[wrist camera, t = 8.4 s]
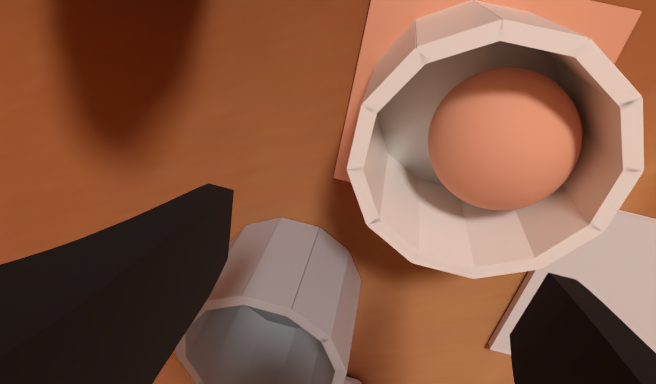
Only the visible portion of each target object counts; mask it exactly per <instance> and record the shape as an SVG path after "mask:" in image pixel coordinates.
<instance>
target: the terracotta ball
mask: <svg viewBox="0 0 656 384" xmlns="http://www.w3.org/2000/svg"><path fill="white" fill-rule="evenodd" d="M581 147H582V125H581V120H580V116H579V113H578V111H577V108H576V106H575V104H574V102H573V101H572V99H571V98H570V96H569V95H568V94H567V92H566V91H565V90H564V89H563V88H562V87H561V86H559V85H558V84H557V83H556V82H555V81H553V80H552V79H550V78H548V77H546V76H545V75H543V74H541V73H538V72H535V71H532V70H529V69H524V68H517V67H501V68H493V69H489V70H485V71H482V72H479V73H477V74H474V75H472V76H470V77H468V78H467V79H465V80H463V81H462V82H460V83H459V84H458V85H456V86H455V87H454V88H453V89H452V90H451V91H450V92H449V93H448V94H447V95H446V96H445V97H444V99H443V100H442V101H441V102H440V104H439V106H438V107H437V109H436V111H435V113H434V115H433V118H432V121H431V123H430V128H429V134H428V151H429V156H430V161H431V164H432V166H433V169H434V171H435V173H436V175H437V176H438V178H439V179H440V181H441V182H442V183H443V185H444V186H445V187H446V188H447V189H448V190H449V191H450V192H451V193H453V194H454V195H455V196H456V197H458V198H459V199H461V200H463V201H465V202H466V203H469V204H471V205H474V206H477V207H479V208H484V209H489V210H513V209H519V208H523V207H527V206H530V205H532V204H535V203H537V202H539V201H541V200H543V199H545V198H546V197H548V196H549V195H551V194H552V193H553V192H555V191H556V190H557V189H558V188H559V187H560V186H561V185H562V184H563V183H564V182H565V181H566V180H567V178H568V177H569V175H570V174H571V173H572V171H573V169H574V167H575V165H576V163H577V160H578V158H579V155H580V151H581Z"/></svg>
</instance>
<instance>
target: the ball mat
mask: <svg viewBox="0 0 656 384" xmlns="http://www.w3.org/2000/svg"><path fill="white" fill-rule="evenodd" d="M602 232H603V231H602ZM548 272H549V273H553V274H556V275H560V276H564V277H568V278H572V279H576V280H577V281H579V282H580V283H581V284H582V285H584V286H585V287H586V288H587V289H588V290H589V291H591V292H592V293H593V294H594V295H595V296H596V297H597V298H598V299H599V300H601V301H602V302H603V303H604V304H605V305H606V306H607V307H608V308H609V309H610V310H611V311H612V312H613V313H614V314H615V315H616V316H618V317H619V318H620V319H621V320H622V321H623V322H624V323H625V324H626V325H627V326H628V327H629V328H630V329H631V330H632V331H633V332H634V333H635V334H636V335H637V336H638V337H639V338H640V339H641V340H643V341H644V342H645V343H646V344H647V345H648V346H649V347H650V348H651V349H652V350H653V351H654V352H655V353H656V219H655V218H651V217H647V216H642V215H638V214H634V213H630V212H626V211H622V210H618V211H617V213H616V214H615V216H614V217H613V219H612V220H611V222H610V223H609V225H608V227H607V228H606V230H605V231H604V232H603V233H602V234H600V235H598V236H597V237H595V238H593V239H592V240H590V241H588V242H586V243H585V244H583V245H581V246H580V247H578V248H576V249H575V250H573V251H571V252H569V253H568V254H566V255H564V256H563V257H561V258H559V259H558V260H556V261H554V262H553V263H551V264H549V265H547V266H546V267H544V268H542V269H541V268H540V269H539V270H532V271H529V272H528V274H527V276H526V277H525V279H524V281H523V283H522V284H521V286H520V288H519V290H518V291H517V293H516V295H515V297H514V298H513V300H512V302H511V304H510V305H509V307H508V309H507V311H506V312H505V314H504V316H503V318H502V319H501V321H500V323H499V325H498V326H497V328H496V330H495V332H494V333H493V335H492V337H491V339H490V340H489V342H488V344H489V349H490V350H493V351H497V352H501V353H505V354H508V355H511V347H510V333H511V332H512V330H513V329H514V327H515V325H516V324H517V322H518V321H519V319H520V317H521V316H522V314H523V312H524V311H525V309H526V308H527V306H528V304H529V303H530V301H531V299H532V298H533V296H534V295H535V293H536V291H537V290H538V288H539V287H540V285H541V283H542V282H543V280H544V278H545V277H546V275H547V274H548Z"/></svg>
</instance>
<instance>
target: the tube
mask: <svg viewBox="0 0 656 384" xmlns="http://www.w3.org/2000/svg"><path fill="white" fill-rule="evenodd" d="M641 13H642V11H639V10H634V9H629V8H624V7H619V6H615V5H610V4H605V3H600V2H595V1H591V0H371V3H370V7H369V12H368V17H367V22H366V26H365V31H364V36H363V40H362V45H361V50H360V55H359V59H358V64H357V69H356V73H355V78H354V83H353V88H352V92H351V97H350V102H349V106H348V111H347V116H346V121H345V125H344V130H343V135H342V139H341V144H340V149H339V154H338V158H337V163H336V168H335V172H334V177H333V178H335V179H339V180H343V181H347V182H351V184H352V186H353V189H354V192H355V195H356V198H357V200H358V203H359V206H360V209H361V211H362V214H363V217H364V220H365V223H366V225H367V226H368V227H369V228H370V229H372V230H373V231H374V232H375V233H376V234H378V235H379V236H380V237H381V238H382V239H383V240H385V241H386V242H387V243H388V244H389V245H391V246H392V247H393V248H394V249H395V250H397V251H398V252H399V253H400V254H401V255H403V256H404V257H405V258H406V259H407V260H409V261H410V262H411V263H413V264H417V265H421V266H425V267H429V268H432V269H436V270H440V271H444V272H448V273H452V274H456V275H460V276H464V277H468V278H472V279H473V277H474V279H476V278H483V277H490V276H497V275H504V274H511V273H518V272H525V271H532V270H539V269H540V268H541V269H542V268H544V267H546V266H547V265H549V264H551V263H553V262H554V261H556V260H558V259H559V258H561V257H563V256H564V255H566V254H568V253H569V252H571V251H573V250H575V249H576V248H578V247H580V246H581V245H583V244H585V243H586V242H588V241H590V240H592V239H593V238H595V237H597V236H598V235H600V234H602V233H603V232H604V231H605V230H606V228H607V227H608V225H609V223H610V222H611V220H612V219H613V217H614V216H615V214H616V213H617V211H618V210H619V208H620V207H621V205H622V204H623V202H624V201H625V199H626V197H627V196H628V194H629V193H630V191H631V190H632V188H633V187H634V185H635V184H636V182H637V181H638V179H639V178H640V176H641V174H642V173H643V170H644V141H643V98H642V96H641V95H640V93H639V92H638V91H637V90H636V89H635V88H634V87H633V86H632V84H631V83H630V82H629V81H628V80H627V79H626V78H625V77H624V75H623V74H622V73H621V72H620V71H619V70H618V69H617V67H616V66H615V65H614V64H615V62H616V60H617V58H618V56H619V54H620V52H621V50H622V49H623V47H624V45H625V43H626V41H627V39H628V37H629V35H630V33H631V32H632V30H633V28H634V26H635V24H636V22H637V20H638V18H639V16H640V15H641ZM501 67H517V68H524V69H529V70H532V71H535V72H538V73H541V74H543V75H545V76H546V77H548V78H550V79H552V80H553V81H555V82H556V83H557V84H558V85H559V86H561V87H562V88H563V89H564V90H565V91H566V92H567V94H568V95H569V96H570V98H571V99H572V101H573V102H574V104H575V106H576V108H577V111H578V113H579V116H580V120H581V125H582V147H581V151H580V155H579V158H578V160H577V163H576V165H575V167H574V169H573V171H572V173H571V174H570V175H569V177H568V178H567V180H566V181H565V182H564V183H563V184H562V185H561V186H560V187H559V188H558V189H557V190H556V191H555V192H553V193H552V194H551V195H549V196H548V197H546V198H545V199H543V200H541V201H539V202H537V203H535V204H532V205H530V206H527V207H523V208H519V209H513V210H489V209H484V208H479V207H477V206H474V205H471V204H469V203H466V202H465V201H463V200H461V199H459V198H458V197H456V196H455V195H454V194H453V193H451V192H450V191H449V190H448V189H447V188H446V187H445V186H444V185H443V183H442V182H441V181H440V179H439V178H438V176H437V175H436V173H435V171H434V169H433V166H432V164H431V161H430V156H429V151H428V134H429V128H430V123H431V121H432V118H433V115H434V113H435V111H436V109H437V107H438V106H439V104H440V102H441V101H442V100H443V99H444V97H445V96H446V95H447V94H448V93H449V92H450V91H451V90H452V89H453V88H454V87H455V86H456V85H458V84H459V83H460V82H462V81H463V80H465V79H467V78H468V77H470V76H472V75H474V74H477V73H479V72H482V71H485V70H489V69H493V68H501ZM602 231H603V232H602Z"/></svg>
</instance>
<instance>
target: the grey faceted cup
mask: <svg viewBox="0 0 656 384" xmlns="http://www.w3.org/2000/svg"><path fill="white" fill-rule="evenodd" d="M360 287H361V279H360V276H359V274H358V271H357V269H356V266H355V264H354V261H353V259H352V256H351V253H350V252H349V250H347V249H346V248H345V247H344V246H343V245H341V244H340V243H339V242H338V241H336V240H335V239H334V238H333V237H331V236H330V235H329V234H328V233H327V232H325V231H324V230H323V229H322V228H319V227H317V226H313V225H310V224H306V223H302V222H298V221H294V220H290V219H286V218H281V217H280V218H276V219H271V220H267V221H262V222H257V223H253V224H248V225H246V226H245V227H244V228H243V229H242V230H241V231H240V232H239V233H238V234H237V236H236V237H235V238H234V239H233V240H232V241H231V242H230V243H229V252H228V259H227V262H226V264H225V266H224V268H223V270H222V272H221V274H220V276H219V278H218V280H217V282H216V284H215V286H214V288H213V290H212V292H211V294H210V296H209V298H208V299H207V301H206V302H205V304H204V305H203V307H202V308H201V310H200V312H199V313H198V315H197V316H196V318H195V319H194V321H193V322H192V324H191V325H190V327H189V328H188V330H187V331H186V333H185V334H184V336H183V337H182V339H181V340H180V342H179V343H178V345H177V346H176V357H177V358H178V359H179V361H180V362H181V364H182V365H183V367H184V368H185V369H186V371H187V372H188V374H189V375H190V376H191V378H192V379H193V381H194V382H195V384H343V383H344V380H345V377H346V374H347V369H348V363H349V356H350V350H351V344H352V337H353V331H354V325H355V318H356V312H357V306H358V299H359V293H360Z"/></svg>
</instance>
